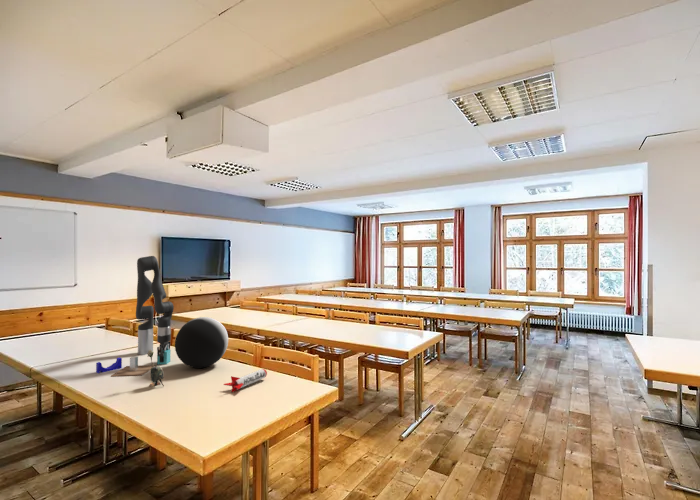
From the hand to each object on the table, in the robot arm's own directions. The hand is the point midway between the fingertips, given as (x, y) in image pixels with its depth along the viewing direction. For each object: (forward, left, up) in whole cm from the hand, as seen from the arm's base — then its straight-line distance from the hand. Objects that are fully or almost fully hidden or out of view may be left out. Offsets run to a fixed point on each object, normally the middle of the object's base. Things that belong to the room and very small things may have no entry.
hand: (163, 360), depth 217 cm
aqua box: (0, 0, -2) cm, 2 cm away
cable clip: (+11, -26, -2) cm, 29 cm away
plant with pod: (+42, +14, -2) cm, 44 cm away
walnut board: (+16, -10, -2) cm, 19 cm away
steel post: (+16, -10, 0) cm, 19 cm away
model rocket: (+46, +61, -2) cm, 76 cm away
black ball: (+9, +26, -2) cm, 28 cm away
